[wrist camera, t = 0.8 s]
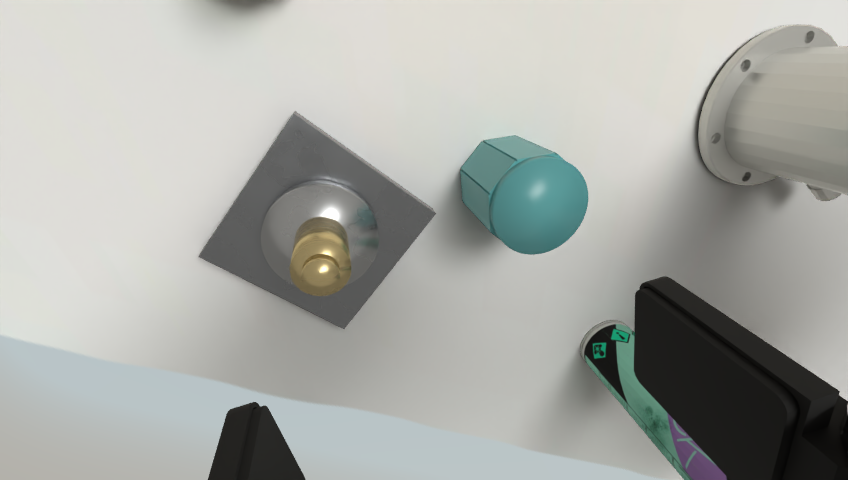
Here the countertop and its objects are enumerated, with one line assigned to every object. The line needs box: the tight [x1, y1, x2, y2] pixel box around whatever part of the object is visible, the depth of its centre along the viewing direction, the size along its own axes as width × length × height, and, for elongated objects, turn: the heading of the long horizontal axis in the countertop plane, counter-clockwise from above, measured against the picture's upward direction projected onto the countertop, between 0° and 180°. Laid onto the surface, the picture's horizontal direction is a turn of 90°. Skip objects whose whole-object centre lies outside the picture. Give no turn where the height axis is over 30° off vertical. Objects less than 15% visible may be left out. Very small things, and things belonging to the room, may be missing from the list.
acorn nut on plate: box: [199, 111, 436, 329], centre depth 28 cm, size 12×12×8 cm
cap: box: [460, 135, 588, 254], centre depth 30 cm, size 6×6×7 cm
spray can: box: [580, 320, 730, 480], centre depth 33 cm, size 6×6×20 cm
